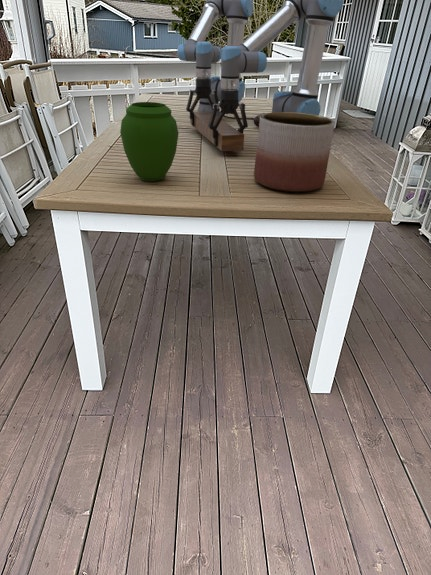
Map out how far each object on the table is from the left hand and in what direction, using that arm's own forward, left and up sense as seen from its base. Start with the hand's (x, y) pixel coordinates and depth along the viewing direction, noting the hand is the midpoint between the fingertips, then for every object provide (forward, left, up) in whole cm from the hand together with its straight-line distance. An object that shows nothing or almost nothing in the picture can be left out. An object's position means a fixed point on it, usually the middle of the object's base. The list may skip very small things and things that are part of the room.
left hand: (202, 125), depth 215 cm
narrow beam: (+2, +21, -1) cm, 21 cm away
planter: (0, +87, -4) cm, 87 cm away
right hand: (+4, +42, 0) cm, 43 cm away
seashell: (-37, -5, -4) cm, 38 cm away
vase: (+46, +70, -4) cm, 84 cm away
